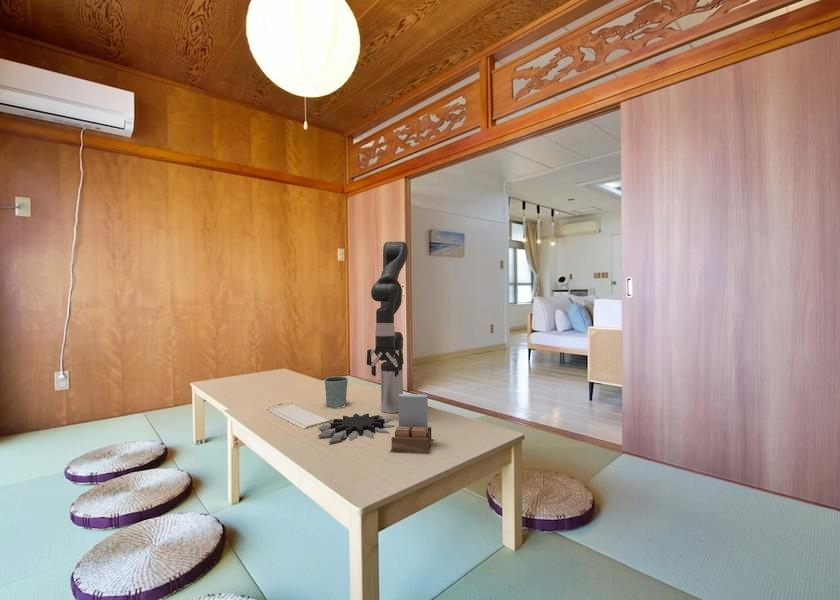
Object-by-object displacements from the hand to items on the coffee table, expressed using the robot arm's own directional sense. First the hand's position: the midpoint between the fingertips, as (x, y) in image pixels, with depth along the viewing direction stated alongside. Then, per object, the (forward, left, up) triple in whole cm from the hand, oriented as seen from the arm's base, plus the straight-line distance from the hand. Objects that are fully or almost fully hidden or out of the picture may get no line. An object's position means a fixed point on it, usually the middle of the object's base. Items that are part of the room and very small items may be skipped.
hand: (385, 376), depth 150 cm
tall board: (+25, +15, -16) cm, 33 cm away
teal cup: (-17, -26, -18) cm, 36 cm away
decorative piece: (+13, -7, -18) cm, 23 cm away
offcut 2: (+30, +17, -16) cm, 38 cm away
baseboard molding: (0, -37, -18) cm, 41 cm away
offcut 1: (+30, +12, -16) cm, 36 cm away
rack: (+28, +15, -17) cm, 36 cm away
